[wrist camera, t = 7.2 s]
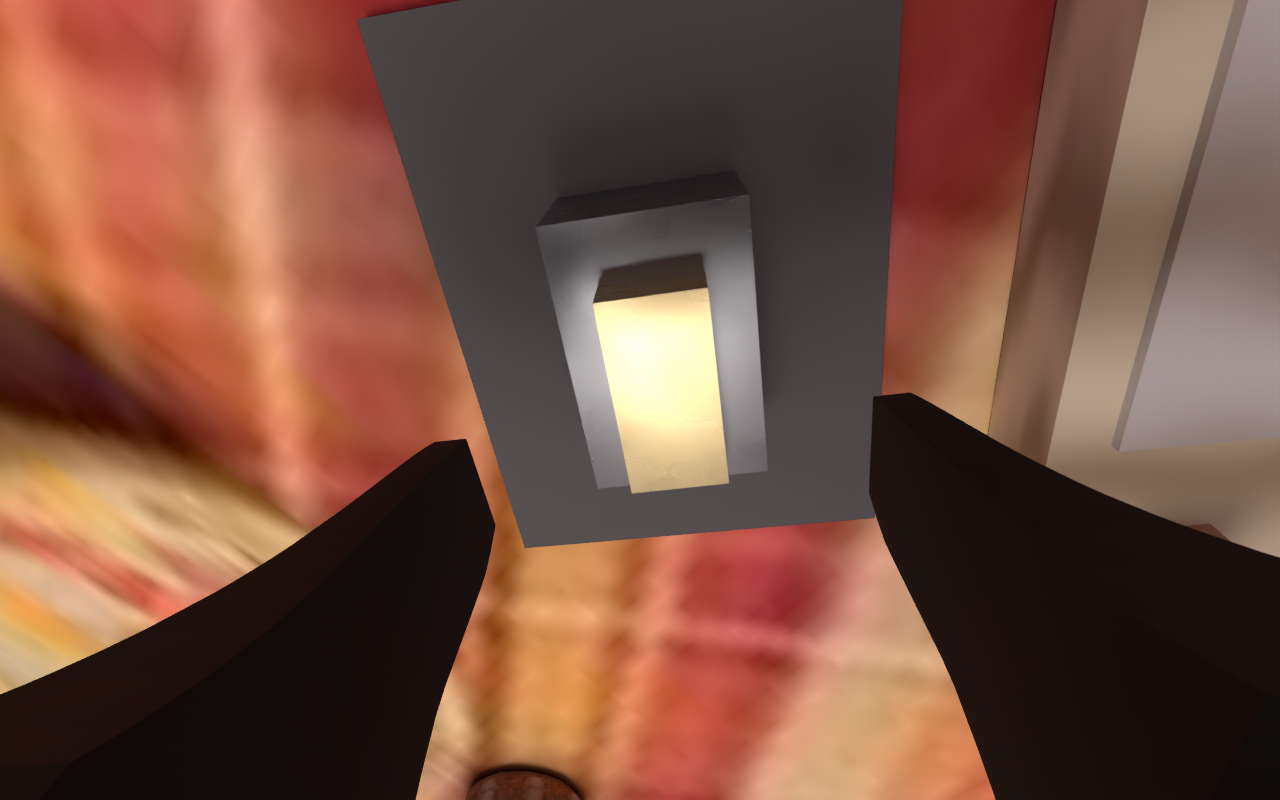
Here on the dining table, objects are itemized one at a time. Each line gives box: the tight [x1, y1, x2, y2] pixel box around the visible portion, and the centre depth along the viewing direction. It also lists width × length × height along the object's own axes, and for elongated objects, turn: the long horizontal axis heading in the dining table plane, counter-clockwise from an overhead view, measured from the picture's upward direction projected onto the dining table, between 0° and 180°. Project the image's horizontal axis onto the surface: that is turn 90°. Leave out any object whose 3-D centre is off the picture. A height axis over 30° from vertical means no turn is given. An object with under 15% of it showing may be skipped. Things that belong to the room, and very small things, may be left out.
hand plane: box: [988, 0, 1280, 557], centre depth 13 cm, size 22×7×6 cm, turn 8°
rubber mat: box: [357, 0, 903, 548], centre depth 17 cm, size 16×12×1 cm
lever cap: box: [535, 170, 768, 493], centre depth 15 cm, size 7×4×4 cm, turn 9°
